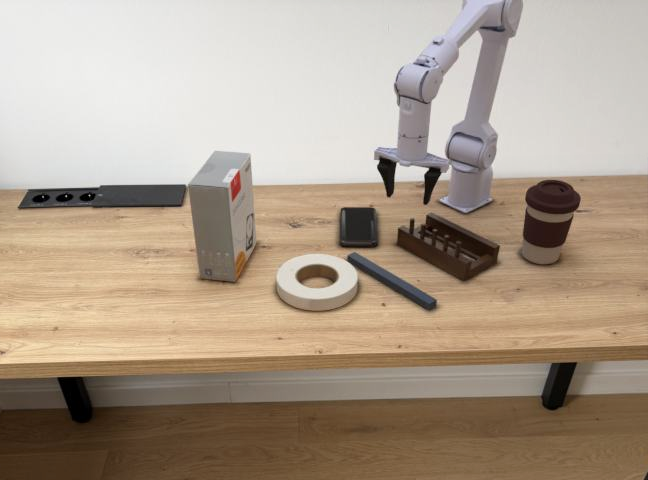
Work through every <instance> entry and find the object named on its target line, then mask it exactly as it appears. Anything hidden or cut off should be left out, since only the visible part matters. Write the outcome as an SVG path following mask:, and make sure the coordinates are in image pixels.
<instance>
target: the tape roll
mask: <svg viewBox="0 0 648 480" xmlns="http://www.w3.org/2000/svg"><path fill="white" fill-rule="evenodd" d="M312 277H322V278H327V279H329V280H331V281H333V283H332V284H330V285H327V286H323V287H321V286H320V287H314V286H308V285H305V284H303V283H301V282H302V281H303V280H305V279H308V278H312ZM275 280H276V292H277V294H278V296H279V297H280V298H281V300H282V301H284V303H286V304H288V305H290V306H292V307H294V308H297V309H299V310H300V309H301V310H305V311H306V310H307V311H318V312H319V311H320V312H321V311H329V310H330V311H331V310H334V309H336V308H340V307H342V306H345V305H346V304H348V303H350V302H351V301H352V300H353V299H354V298H355V297H356V295H357V293H358V283H359V273H358V271H357V269H356V267H355V266H354V265H352V264H351V263H349V262H347V260H345V259H343V258H341V257H338V256H335V255H331V254H325V253H308V254H303V255H299V256H295V257H292V258H290V259H289V260H286V261H285V262H283V263H282V264H280V265H279V267H278V270H277V271H276V277H275Z"/></svg>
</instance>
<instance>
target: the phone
mask: <svg viewBox="0 0 648 480" xmlns="http://www.w3.org/2000/svg"><path fill="white" fill-rule="evenodd" d="M339 221H340V223H339V245H340V246H341V247H344V248H345V247H347V248H351V247H352V248H374V247H377V245H378V240H379V239H378V237H379V236H378V223H377V209H376V208H375V207H369V206H367V207H366V206H365V207H363V206H362V207H361V206H343V207H342V208H340V220H339Z"/></svg>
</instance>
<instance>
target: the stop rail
mask: <svg viewBox="0 0 648 480" xmlns="http://www.w3.org/2000/svg"><path fill="white" fill-rule="evenodd" d="M346 259H347V260H346V261H347V262H349V263H350V264H351V265H352V266H353V267H355V268H357V269H359V270H361V271H362V272H364V273H365V274H367V275H369V276H371V277H372V278H374V279H376V280H378V281H379V282H381V283H383V284H384V285H385V286H387V287H388V288H391V289H392V290H394V291H396V292H397V293H399V294H401V295H402V296H404V297H406V298H407V299H409V300H410V301H412V302H414V303H416V304H417V305H419V306H420V307H422V308H424V309H425V310H427V311H431V310H432V309H434V308H436V307H437V304H438V303H437V302H438V299H437V298H435V297H433V296H431V295H430V294H428V293H427V292H424V291H423V290H421V289H419V288H418V287H416V286H415V285H412V284H411V283H409V282H407V281H406V280H404V279H402V278H400V277H399V276H397V275H395V274H394V273H392V272H390V271H389V270H387V269H385V268H383V267H382V266H380V265H379V264H376V263H375V262H373V261H371V260H369V259H368V258H366V257H364V256H363V255H361V254H359V253H357V252H356V251H353V252H351V253H349V254H347V258H346Z"/></svg>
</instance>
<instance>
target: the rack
mask: <svg viewBox="0 0 648 480" xmlns="http://www.w3.org/2000/svg"><path fill="white" fill-rule="evenodd" d="M415 221H416V219H415V217H410V219H409V227H408V226H405V225H401V226H398V227H397V235H396V237H397V238H396V245H397V246H398V247H400V248H402V249H404V250H406V251H407V252H409V253H411V254H413V255H415V256H417V257H419V258H420V259H422V260H424V261H425V262H428V263H430V264H431V265H433V266H435V267H437V268H439V269H440V270H442V271H444V272H445V273H448V274H450V275H451V276H454V277H455V278H457V279H459V280H461V281H462V282H466V281H467V280H469V279H471V278H473V277H474V276H476V275H478V274H479V273H481V272H483V271H485V270H486V269H489V268H490V267H493V266H494V265H496V264H497V263H498V260H499V254H500V253H499V252H500V249H501V245H500V244H498V243H496V242H494V241H492V240H489V239H488V238H486V237H483V235H482V236H481V235H480V234H477V233H476V232H473V231H471V230H469V229H467V228H465V227H463V226H461V225H459V224H457V223H454V222H452V221H450V220H448V219H446V218H444V217H443V216H441V215H438V214H437V213H434V212H429V213H426V214H425V222H424V223H423V222H422V223H421V225H419V226H417V227H415ZM430 238H431V239H430ZM440 243H441V244H440ZM442 244H443V245H442ZM469 258H470V259H469Z"/></svg>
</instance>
